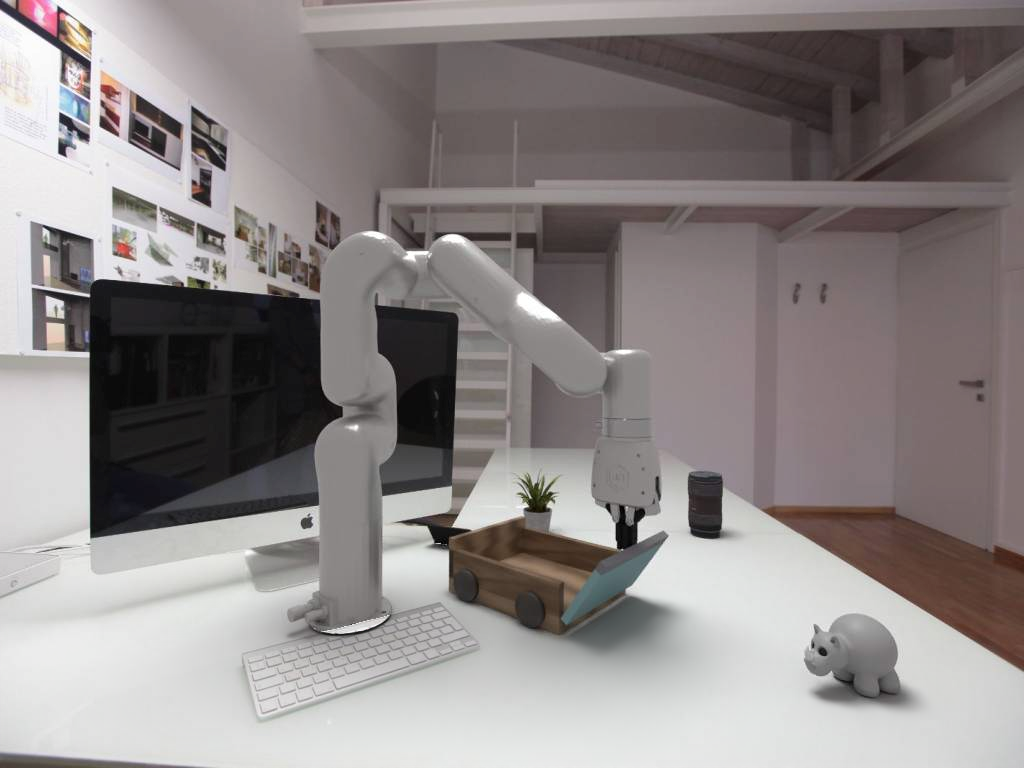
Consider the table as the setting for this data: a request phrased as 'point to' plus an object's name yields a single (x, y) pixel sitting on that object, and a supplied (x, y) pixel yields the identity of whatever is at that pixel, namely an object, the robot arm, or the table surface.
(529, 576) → the hand cart
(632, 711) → the table surface
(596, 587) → the panel
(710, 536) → the camera lens
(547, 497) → the house plant
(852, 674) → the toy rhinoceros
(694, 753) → the table surface
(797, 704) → the table surface
